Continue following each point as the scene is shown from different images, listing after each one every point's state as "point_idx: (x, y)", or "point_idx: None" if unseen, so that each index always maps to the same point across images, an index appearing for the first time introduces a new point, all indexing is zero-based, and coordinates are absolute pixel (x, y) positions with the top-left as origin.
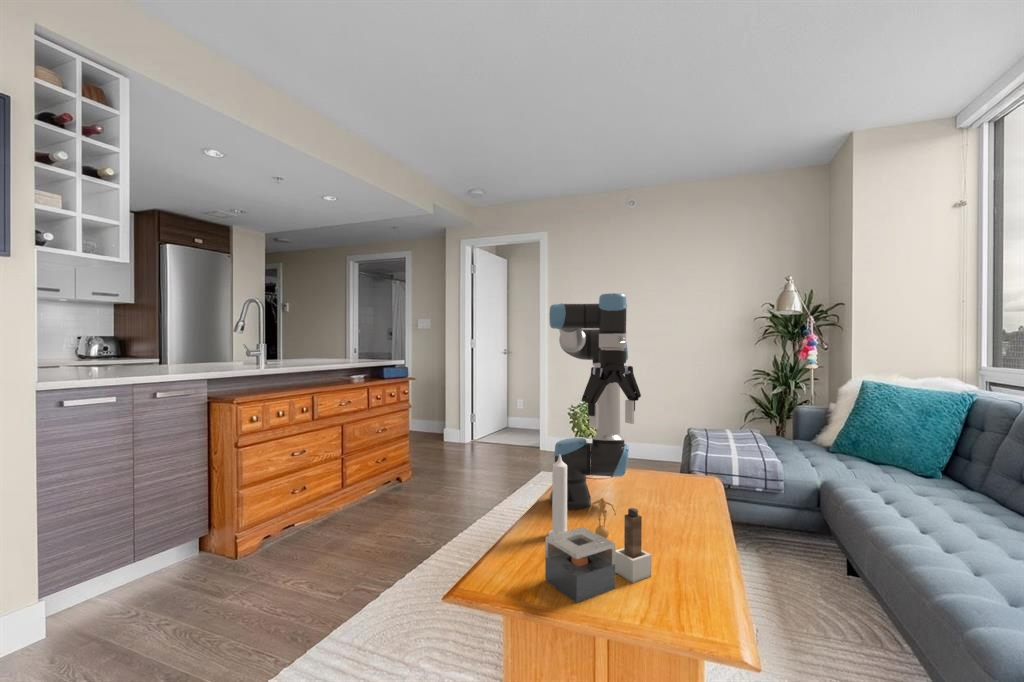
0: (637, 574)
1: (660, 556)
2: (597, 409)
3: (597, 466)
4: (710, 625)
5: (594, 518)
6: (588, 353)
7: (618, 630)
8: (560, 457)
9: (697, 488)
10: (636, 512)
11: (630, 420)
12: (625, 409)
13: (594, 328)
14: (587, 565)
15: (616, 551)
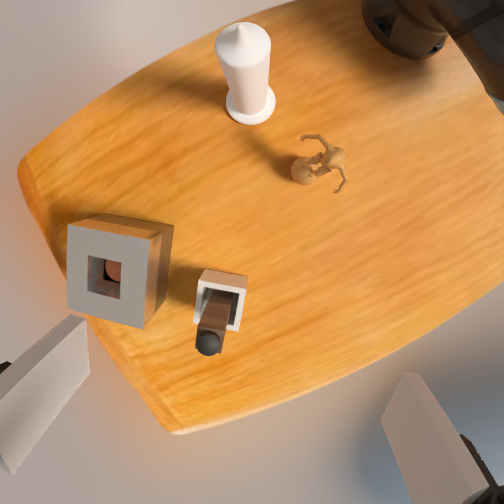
0: None
1: (317, 289)
2: (23, 446)
3: (470, 53)
4: (192, 405)
5: (379, 99)
6: None
7: (104, 346)
8: (238, 35)
9: None
10: (206, 353)
11: (390, 423)
12: (437, 436)
13: None
14: (116, 286)
15: (200, 284)
